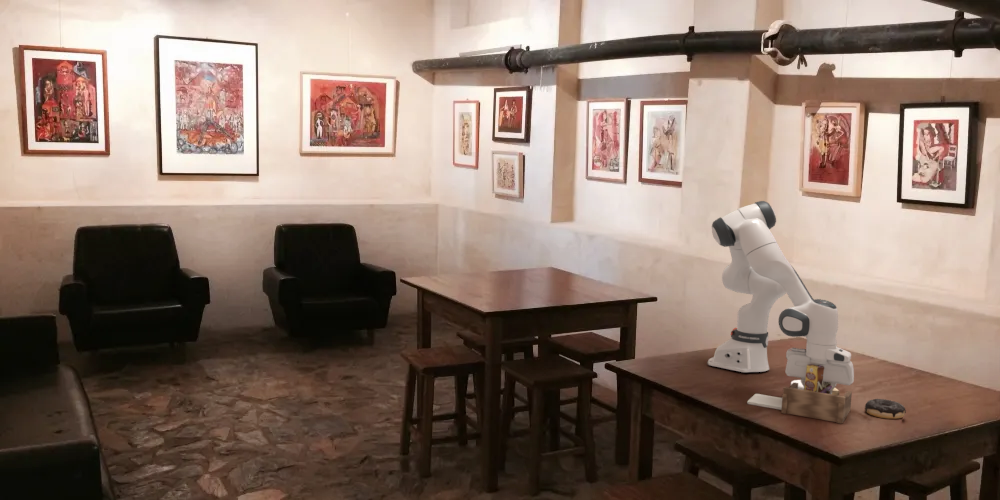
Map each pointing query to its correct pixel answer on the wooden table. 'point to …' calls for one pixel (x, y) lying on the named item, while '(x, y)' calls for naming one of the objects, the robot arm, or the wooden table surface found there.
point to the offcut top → (835, 391)
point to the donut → (885, 409)
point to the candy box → (816, 379)
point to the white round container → (798, 384)
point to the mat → (766, 401)
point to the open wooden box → (815, 404)
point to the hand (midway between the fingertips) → (817, 393)
